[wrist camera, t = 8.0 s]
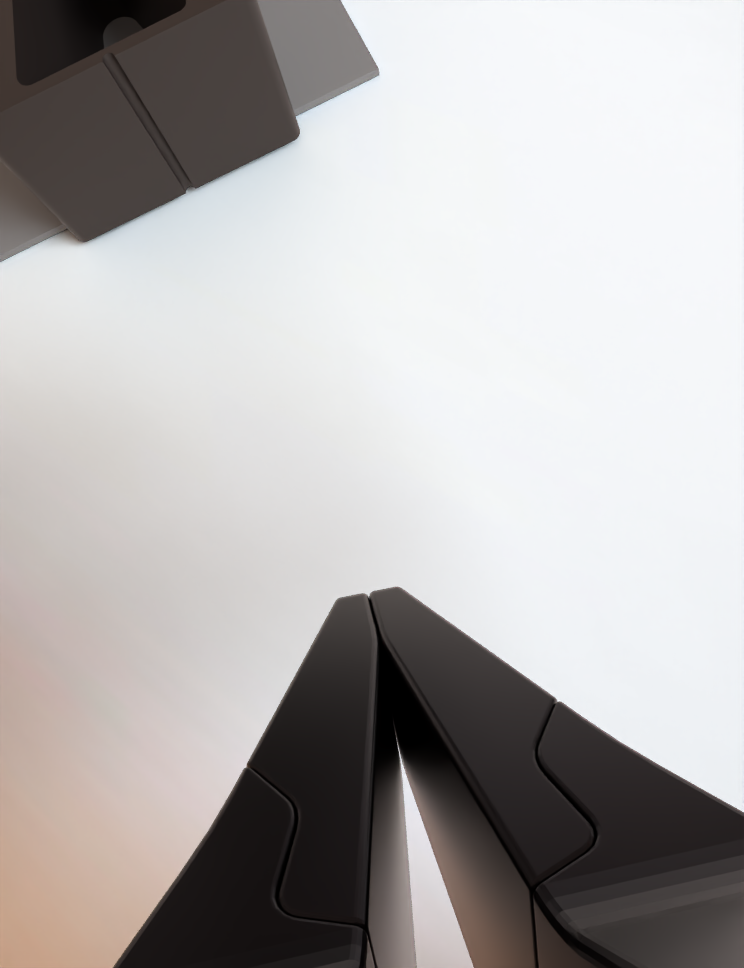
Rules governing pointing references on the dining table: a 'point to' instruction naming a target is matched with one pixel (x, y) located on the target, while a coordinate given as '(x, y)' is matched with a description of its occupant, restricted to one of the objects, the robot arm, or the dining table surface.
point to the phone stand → (134, 102)
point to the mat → (303, 64)
